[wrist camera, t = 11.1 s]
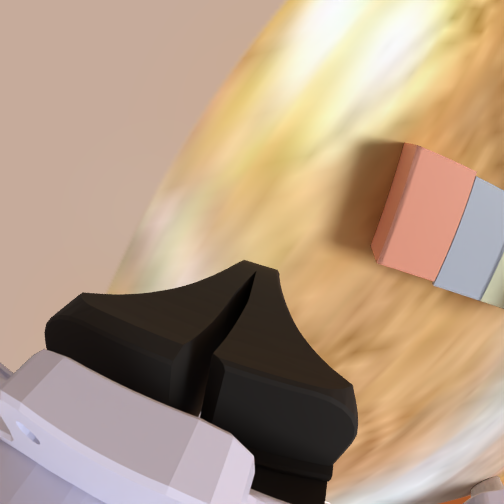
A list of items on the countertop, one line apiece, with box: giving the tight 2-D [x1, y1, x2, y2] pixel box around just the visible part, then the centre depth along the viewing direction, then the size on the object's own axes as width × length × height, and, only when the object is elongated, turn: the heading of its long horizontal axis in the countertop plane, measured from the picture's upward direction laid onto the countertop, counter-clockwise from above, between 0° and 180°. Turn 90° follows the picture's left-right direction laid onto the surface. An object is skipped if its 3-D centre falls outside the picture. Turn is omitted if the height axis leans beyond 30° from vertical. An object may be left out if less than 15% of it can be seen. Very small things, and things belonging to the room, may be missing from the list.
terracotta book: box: [371, 143, 477, 281], centre depth 17 cm, size 7×4×3 cm, turn 167°
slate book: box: [432, 176, 504, 301], centre depth 17 cm, size 7×4×3 cm, turn 167°
